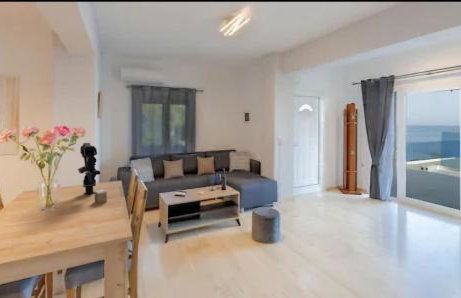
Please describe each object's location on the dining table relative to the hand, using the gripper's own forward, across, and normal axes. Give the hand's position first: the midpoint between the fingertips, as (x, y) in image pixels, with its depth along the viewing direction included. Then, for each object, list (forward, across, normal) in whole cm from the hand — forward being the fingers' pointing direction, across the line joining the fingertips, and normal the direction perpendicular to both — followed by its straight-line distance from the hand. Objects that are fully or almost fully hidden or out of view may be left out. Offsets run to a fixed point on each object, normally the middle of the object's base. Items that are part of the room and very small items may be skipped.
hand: (91, 182), depth 201 cm
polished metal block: (+12, +15, 0) cm, 19 cm away
